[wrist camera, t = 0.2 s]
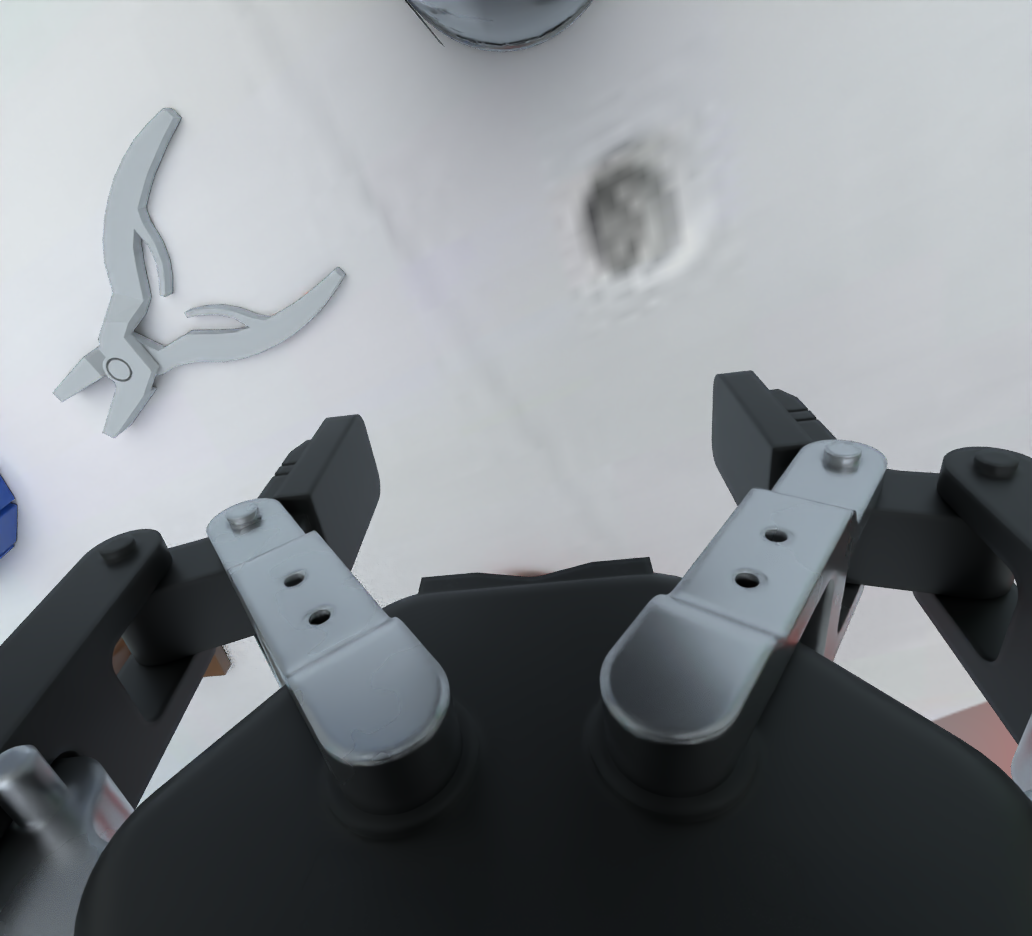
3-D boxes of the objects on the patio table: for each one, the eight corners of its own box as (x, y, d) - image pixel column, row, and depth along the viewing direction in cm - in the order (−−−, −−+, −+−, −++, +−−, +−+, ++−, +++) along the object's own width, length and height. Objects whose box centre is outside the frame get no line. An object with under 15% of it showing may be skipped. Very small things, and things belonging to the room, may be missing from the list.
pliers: (341, 285, 28) (167, 478, 33) (349, 278, 29) (181, 464, 35) (146, 102, 25) (-14, 350, 30) (166, 103, 26) (10, 340, 31)
